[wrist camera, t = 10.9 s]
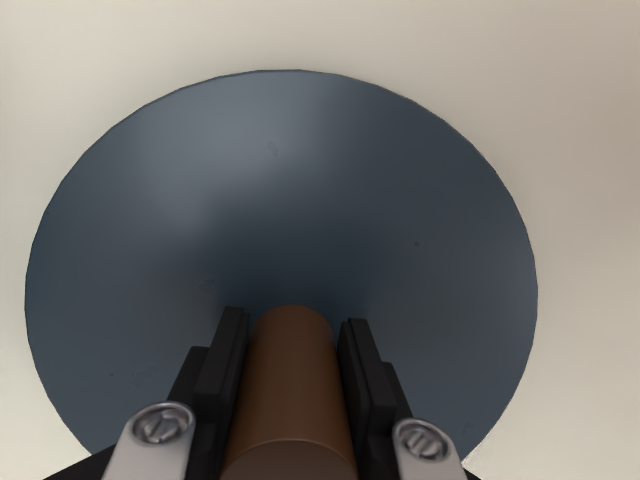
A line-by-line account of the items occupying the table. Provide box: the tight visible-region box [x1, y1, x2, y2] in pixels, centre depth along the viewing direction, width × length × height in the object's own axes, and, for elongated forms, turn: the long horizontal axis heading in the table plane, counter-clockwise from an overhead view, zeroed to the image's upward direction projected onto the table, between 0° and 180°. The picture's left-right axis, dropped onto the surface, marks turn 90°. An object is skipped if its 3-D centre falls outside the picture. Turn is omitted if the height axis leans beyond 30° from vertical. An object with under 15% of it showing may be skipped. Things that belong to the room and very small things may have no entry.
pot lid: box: [24, 69, 538, 480], centre depth 11 cm, size 17×17×7 cm
